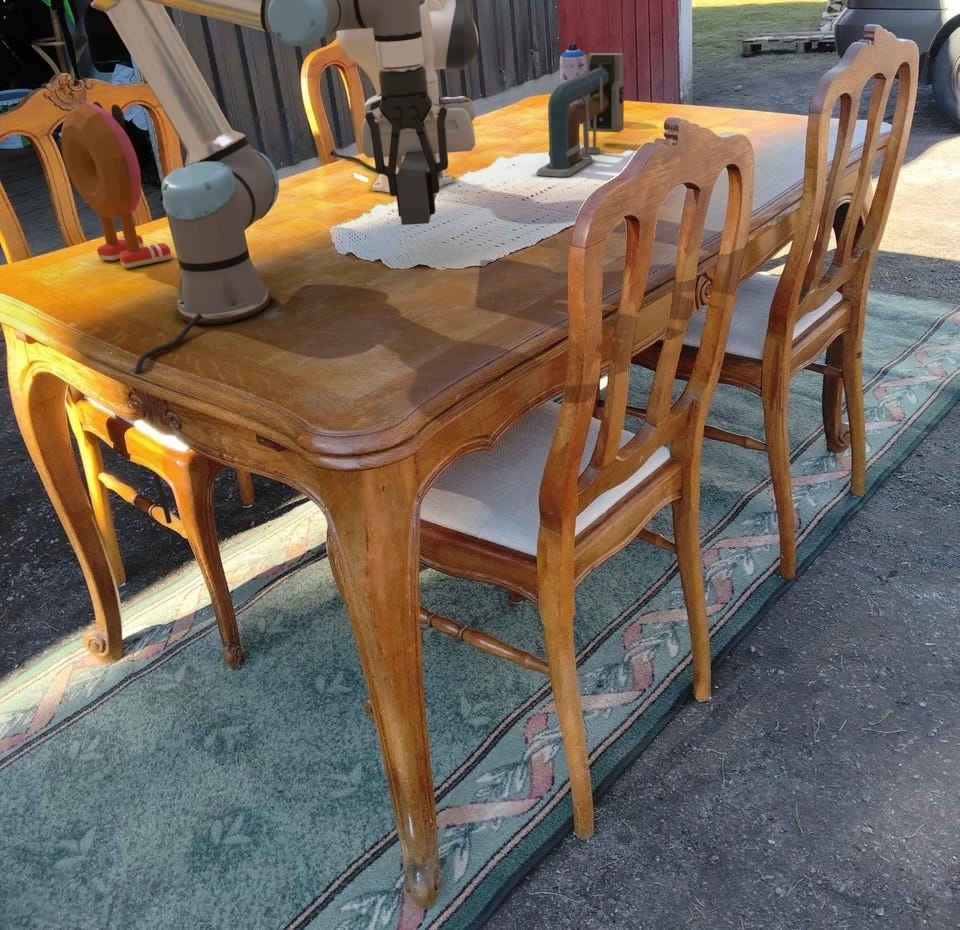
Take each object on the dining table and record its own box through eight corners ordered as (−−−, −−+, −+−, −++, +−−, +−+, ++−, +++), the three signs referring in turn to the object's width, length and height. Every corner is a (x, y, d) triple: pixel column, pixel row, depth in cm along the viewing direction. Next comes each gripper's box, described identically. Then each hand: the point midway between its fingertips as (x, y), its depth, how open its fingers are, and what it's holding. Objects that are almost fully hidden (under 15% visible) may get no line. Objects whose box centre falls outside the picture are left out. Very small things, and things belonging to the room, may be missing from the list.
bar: (429, 223, 161) (424, 174, 157) (401, 225, 162) (395, 176, 158) (438, 186, 181) (434, 142, 177) (414, 188, 182) (409, 144, 177)
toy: (184, 259, 191) (146, 100, 176) (138, 275, 185) (94, 111, 170) (129, 242, 204) (90, 93, 189) (85, 256, 198) (40, 102, 183)
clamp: (567, 177, 223) (565, 79, 213) (533, 175, 227) (529, 78, 216) (623, 141, 249) (623, 53, 238) (592, 140, 253) (590, 53, 242)
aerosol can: (559, 122, 275) (557, 47, 265) (562, 117, 282) (559, 42, 272) (587, 121, 274) (585, 45, 263) (589, 115, 280) (587, 41, 270)
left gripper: (458, 59, 156) (469, 203, 168) (350, 67, 157) (369, 210, 169) (455, 67, 149) (467, 216, 161) (343, 75, 150) (363, 223, 162)
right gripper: (474, 91, 171) (480, 170, 178) (360, 99, 172) (370, 178, 180) (473, 98, 166) (479, 179, 173) (355, 106, 167) (365, 187, 174)
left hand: (417, 212), depth 165 cm, fingers closed on bar, 5 cm apart
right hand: (422, 178), depth 176 cm, fingers closed on bar, 4 cm apart
